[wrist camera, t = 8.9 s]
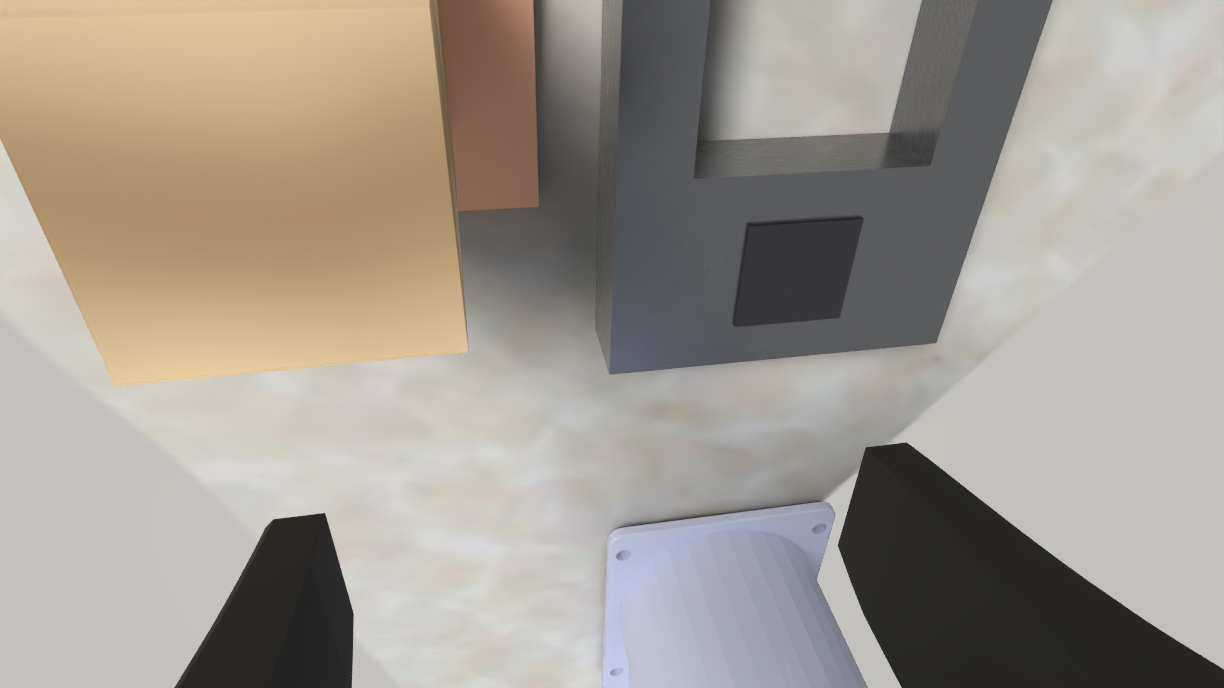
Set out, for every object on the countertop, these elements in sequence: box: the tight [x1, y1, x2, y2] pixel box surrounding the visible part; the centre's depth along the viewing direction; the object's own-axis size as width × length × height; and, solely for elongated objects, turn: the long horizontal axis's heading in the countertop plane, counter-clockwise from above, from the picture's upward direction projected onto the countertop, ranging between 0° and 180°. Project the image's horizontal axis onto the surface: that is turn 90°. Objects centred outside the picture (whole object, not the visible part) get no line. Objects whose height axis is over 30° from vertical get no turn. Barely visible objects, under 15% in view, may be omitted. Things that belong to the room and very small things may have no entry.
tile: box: [438, 0, 539, 212], centre depth 16 cm, size 8×8×1 cm
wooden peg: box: [0, 0, 469, 387], centre depth 12 cm, size 4×4×8 cm
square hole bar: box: [596, 0, 1052, 374], centre depth 17 cm, size 16×9×2 cm, turn 178°
